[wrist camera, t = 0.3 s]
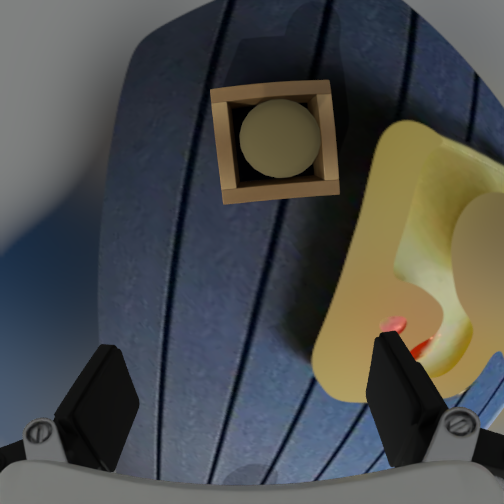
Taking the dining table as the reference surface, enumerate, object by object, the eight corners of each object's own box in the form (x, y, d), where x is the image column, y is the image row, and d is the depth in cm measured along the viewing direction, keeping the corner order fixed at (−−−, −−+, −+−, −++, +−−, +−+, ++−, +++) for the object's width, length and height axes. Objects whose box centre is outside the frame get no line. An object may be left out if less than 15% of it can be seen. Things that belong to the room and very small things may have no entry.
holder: (217, 98, 27) (209, 89, 22) (318, 90, 27) (329, 79, 22) (228, 195, 30) (223, 204, 25) (327, 186, 30) (340, 194, 25)
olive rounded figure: (277, 186, 30) (288, 207, 19) (227, 145, 28) (209, 144, 18) (319, 138, 28) (352, 134, 18) (269, 97, 27) (274, 69, 16)
